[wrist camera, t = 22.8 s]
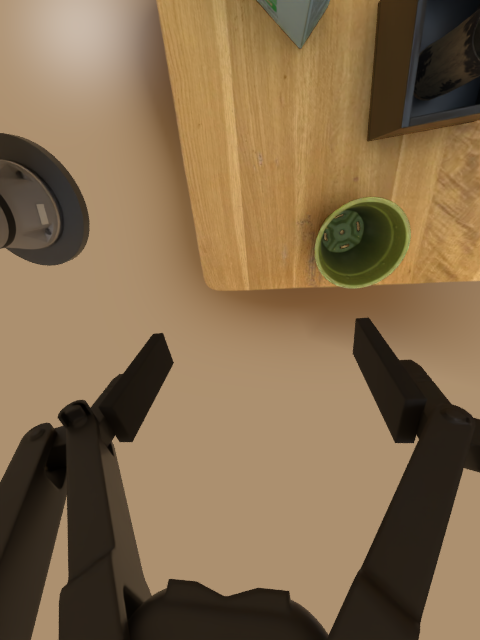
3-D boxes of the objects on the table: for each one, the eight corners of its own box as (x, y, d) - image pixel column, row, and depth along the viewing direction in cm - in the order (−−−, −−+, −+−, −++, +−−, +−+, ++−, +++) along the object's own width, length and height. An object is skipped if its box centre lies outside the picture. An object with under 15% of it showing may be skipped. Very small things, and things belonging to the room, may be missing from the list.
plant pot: (348, 174, 38) (375, 173, 28) (392, 229, 41) (429, 245, 31) (290, 232, 43) (296, 248, 33) (333, 277, 46) (350, 304, 37)
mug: (440, 106, 33) (519, 73, 22) (399, 97, 32) (460, 59, 22) (481, 19, 29) (602, -72, 18) (435, 8, 28) (530, -90, 18)
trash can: (367, 141, 36) (401, 128, 26) (378, 3, 29) (428, -79, 20) (473, 121, 34) (551, 99, 24) (511, -34, 27) (638, -145, 18)
